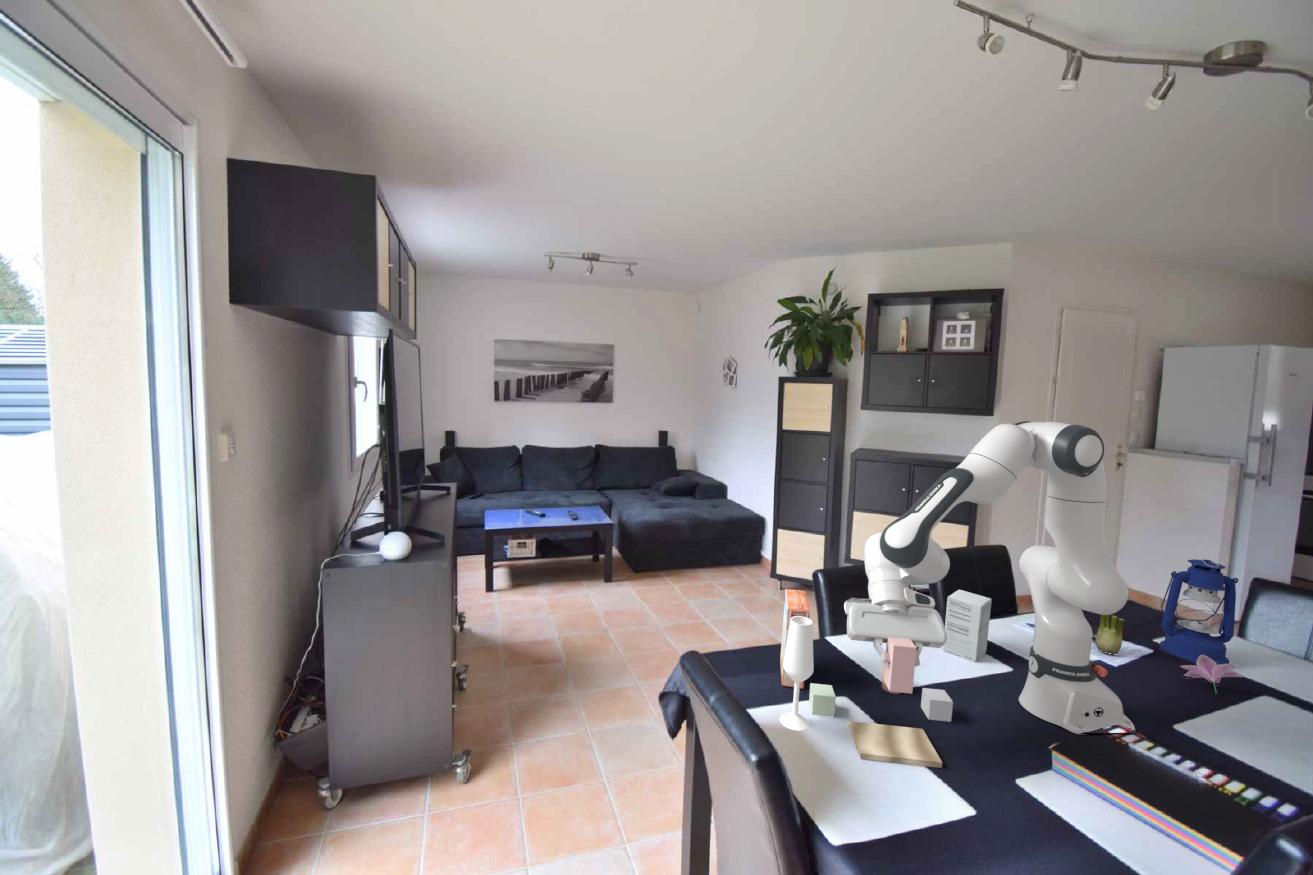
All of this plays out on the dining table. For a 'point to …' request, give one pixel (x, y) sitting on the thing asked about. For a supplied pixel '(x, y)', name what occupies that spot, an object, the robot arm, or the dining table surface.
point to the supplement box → (967, 624)
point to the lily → (1210, 670)
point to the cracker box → (792, 607)
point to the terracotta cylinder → (886, 685)
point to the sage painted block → (822, 700)
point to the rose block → (900, 665)
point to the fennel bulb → (1109, 634)
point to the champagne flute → (798, 666)
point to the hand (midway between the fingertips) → (900, 664)
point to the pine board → (893, 744)
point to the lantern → (1202, 587)
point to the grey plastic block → (936, 704)
